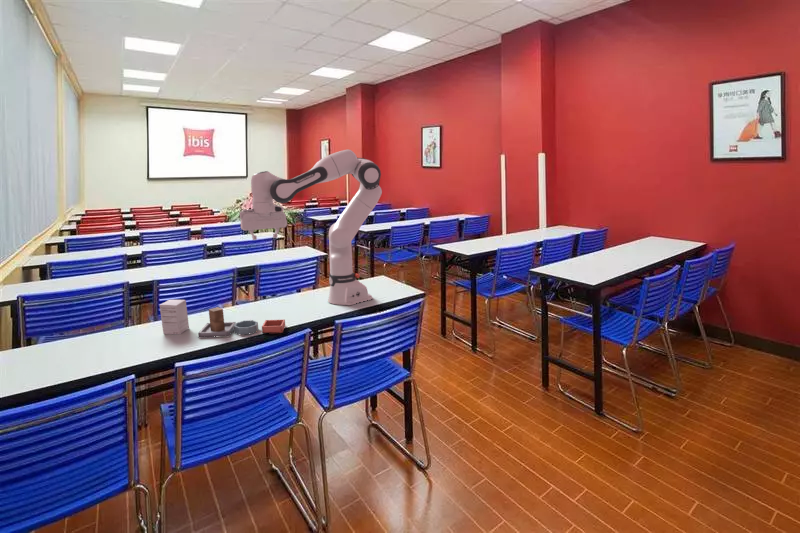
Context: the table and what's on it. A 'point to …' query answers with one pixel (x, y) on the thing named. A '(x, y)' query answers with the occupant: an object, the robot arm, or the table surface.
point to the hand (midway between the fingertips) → (265, 238)
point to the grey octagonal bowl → (246, 327)
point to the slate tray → (208, 333)
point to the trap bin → (273, 326)
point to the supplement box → (174, 316)
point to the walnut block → (216, 319)
